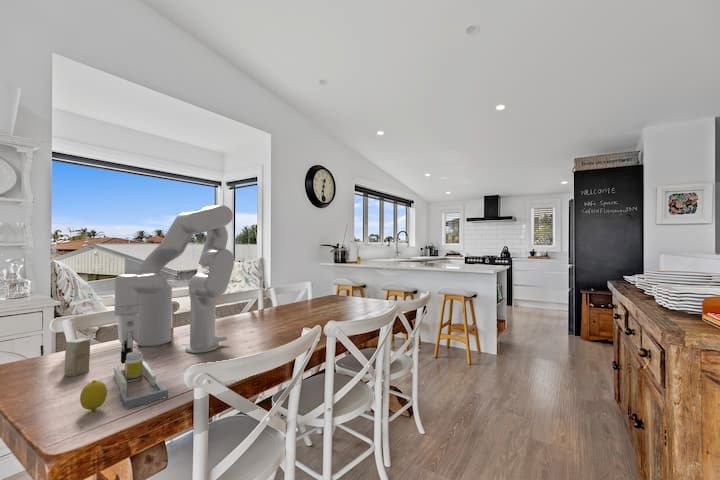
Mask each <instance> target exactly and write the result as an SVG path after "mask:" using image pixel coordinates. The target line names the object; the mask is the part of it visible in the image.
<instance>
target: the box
mask: <svg viewBox="0 0 720 480" xmlns="http://www.w3.org/2000/svg"><path fill="white" fill-rule="evenodd" d="M90 350H91V338H84V337H79V338H77V339H73V340H69V341H66V342H65V351H64V352H65V353H64V354H65V356H64V357H65V358H64V374H63V375H64V376H68V377H69V376H70V377H76V376H79V375H83V374H85V373H88V372H89V371H90V356H91V355H90V354H91V353H90V352H91V351H90Z"/></svg>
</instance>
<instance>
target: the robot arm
mask: <svg viewBox="0 0 720 480" xmlns="http://www.w3.org/2000/svg"><path fill="white" fill-rule="evenodd" d="M233 215H234V214H233V211H232V209H231V207H229V206H227V205H223V204H220V205H209V206H205V207H202V209H200V210H197V211H186V212H181V213H180V214H178V215H177V216H176V217H175V219H174V220H173V222H172V223H171V225H170V227H169V228H168V230H167V232H166V234H165V235H164V237H163V239H162V240H161V242H160V243H159V245H157V247H155V248H154V249H153V251H152V252H150V254H149V255H148V256H147V257H145V259H144V260H143V262H142V263H141V265H140V266H139V268H138V270H137V272H136V273H135V274H133V273H128V274H127V273H126V274H125V273H124V274H120V275H117V276H116V277H115V281H114V316H116V317H118V319H117V321H118V323H117V335H118V336H117V337H118V341H119V343H120V344H121V351H120V362H121V364H125V361H126V360H127V359H126V355H127V353H130V352H134V351H133V345H134V342H135V343H137V342H138V341H139V328H138V314H139V313H140V310H141V294H156V293H160V292H162V291H163V290H165V289H166V287H167V284H169V282H168V279H167V277H166V276H165V275H164V274H162V273H161V272H162V270H163V269H164V268H165V267H166V266H167V265H168V264H169V263H170V262H172V261H174V260H175V259H177V258H178V257H180V256H182V255H183V253H185V250H186V248H187V246H188V244H189V243H190V241H191V239H192V238H193V236H194V234H202V233H205V232H206V238H205V242H204V246H203V248H202V251H201V254H200V258H199V266H201V268H203V269H205V270H209V271H208V272H198V273H195V274H194V275H192V277H191V278H190V280H189V282H188V292H189V293H188V294H189V298H190V317H189V323H190V324H189V344H188V345H186V346H185V351H186V352H187V353H191V354H202V353H208V352H212V351H215V350H217V349H219V346H220V344H219V343H220V342H224V341H228V340H227V339H228V338H227V335H224V336H223V335H218V336H217V335H216V310H217V309H216V298H220V297H221V296H223V295H224V294H225V293H226V292H227V289H228V287H229V283H230V281H231V276H232V273H233V270H234V265H235V257H234V253H233V252H232V251H231V250H230V249H227V243H228V240H229V233H228V230H227V227H226V226H227V225H229V224H230V223H231V222H232V221H233V217H234V216H233ZM137 344H138V343H137Z"/></svg>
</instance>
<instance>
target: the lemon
mask: <svg viewBox="0 0 720 480" xmlns="http://www.w3.org/2000/svg"><path fill="white" fill-rule="evenodd" d="M79 395H80V396H79V402H80V404H81V406H82V408H84V409H86V410H89V411H92V412H94V411H96V410H97V409H98V408H100V407H101V406H102V405H103V404H104V402H106V400H107V396H108V390H107V386H106V384H105V383H104V382H103V381H100V380H96V379H93V380H92V381H90V382H88V383H87V384H86V385H85V386H84V387H83V388H82V389H81V392H80V394H79Z"/></svg>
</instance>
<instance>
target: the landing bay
mask: <svg viewBox="0 0 720 480" xmlns="http://www.w3.org/2000/svg"><path fill="white" fill-rule="evenodd" d="M154 387H155V388H156V391H153V392H149V393H145V394H142V395H139V396H135V397H130V398H129V397H128V396H127V394H126V393H125V392H124V391H121V390H120V391H119V397H120V399H121V401H122V403H123V405H124V408H125V409H129V408H133V407H136V406H139V405H140V406H141V405H144V404H146V402H147V403H150V402H149V401H151V402H154V401H153V400H155V401H157V400H156V399H159V400H161V399H160V398H162V399H164V398H163V397H166V398H168V397H169V389H168V388H164V386H163V385H162V384H161V383H160V381H158V382H157V381H156V383H155V386H154ZM157 390H159V391H157ZM167 396H168V397H167ZM143 403H144V404H143Z"/></svg>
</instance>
